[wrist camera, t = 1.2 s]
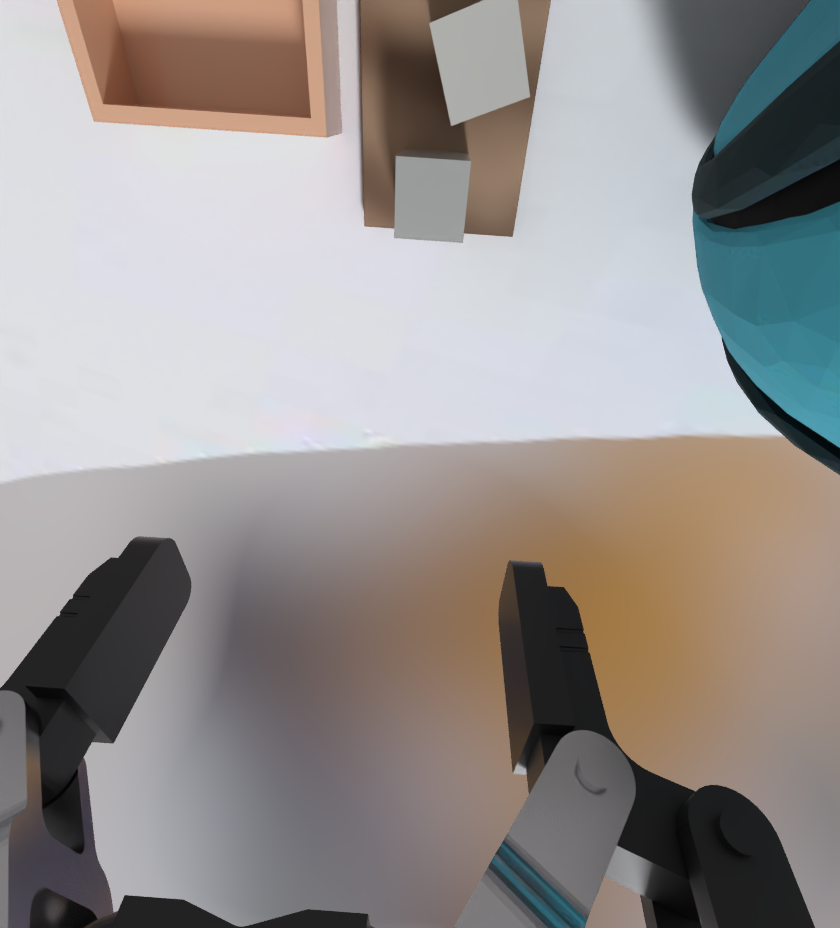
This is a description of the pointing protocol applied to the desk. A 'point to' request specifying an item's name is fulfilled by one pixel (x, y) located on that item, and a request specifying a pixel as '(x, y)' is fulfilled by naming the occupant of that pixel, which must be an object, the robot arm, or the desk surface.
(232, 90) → the bin
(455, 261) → the desk surface
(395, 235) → the stone
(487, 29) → the pale grey cube
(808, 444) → the helmet
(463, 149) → the lid board
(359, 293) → the desk surface
